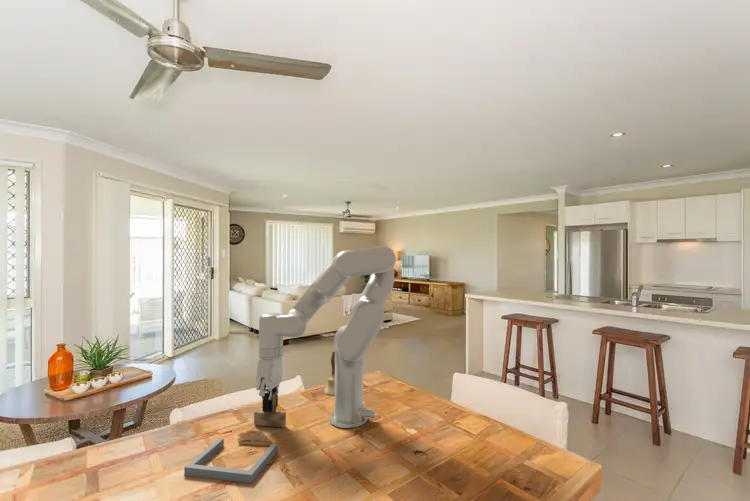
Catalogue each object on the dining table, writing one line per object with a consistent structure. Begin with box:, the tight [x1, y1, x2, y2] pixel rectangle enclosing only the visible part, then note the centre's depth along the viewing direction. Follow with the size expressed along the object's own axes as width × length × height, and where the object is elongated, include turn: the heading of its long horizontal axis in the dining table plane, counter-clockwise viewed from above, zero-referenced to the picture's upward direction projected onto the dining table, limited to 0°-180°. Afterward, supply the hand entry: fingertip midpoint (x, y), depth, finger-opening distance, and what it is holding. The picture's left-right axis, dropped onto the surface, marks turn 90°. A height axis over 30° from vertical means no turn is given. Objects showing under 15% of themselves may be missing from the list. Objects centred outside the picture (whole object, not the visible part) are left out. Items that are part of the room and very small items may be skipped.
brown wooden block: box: [253, 392, 287, 428], centre depth 116 cm, size 10×3×10 cm, turn 80°
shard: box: [236, 429, 274, 447], centre depth 105 cm, size 11×8×2 cm
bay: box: [183, 438, 279, 484], centre depth 95 cm, size 18×14×2 cm
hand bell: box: [323, 351, 335, 396], centre depth 146 cm, size 8×8×16 cm
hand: (270, 408), depth 116 cm, fingers closed on brown wooden block, 3 cm apart
